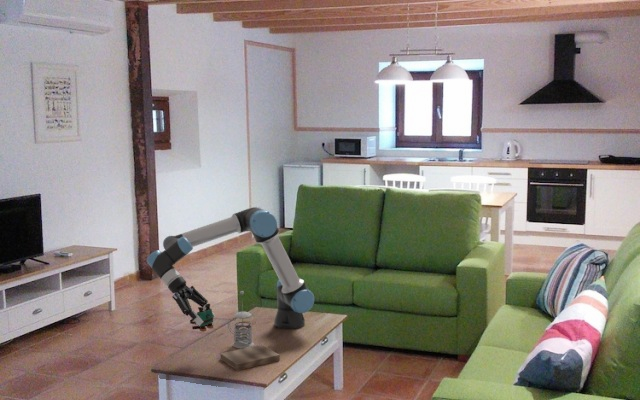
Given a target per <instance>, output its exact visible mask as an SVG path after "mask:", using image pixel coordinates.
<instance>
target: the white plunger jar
mask: <svg viewBox="0 0 640 400" xmlns="http://www.w3.org/2000/svg"><path fill="white" fill-rule="evenodd" d="M239 294H240V295H244V294H245V292H244V290H240V292H239ZM243 305H244V304H243V300H241V311H238V312H236V313H235V314H233V317H232V318H231V319H230V320H228V324H227V326H228V331H229V332H230V333H231V334H233V335H234V336H233V338H234V339H233V340H234V341H233V342H234V343H232V347H234V348H236V349H237V348H238V349H243V348H247V347H251V346H252V347H253V346H255V343H254V342H253V335H252V333H253V332H252V325H251V322H250V321H244V319H249V318H251V317H252V314H251V313H250V312H247V311H244V310H243V308H244V307H243ZM236 319H242V320H243V321H238V322H236V323H234V331H233V330H232V328H231V322H232V320H234V321H236Z"/></svg>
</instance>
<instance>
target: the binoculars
mask: <svg viewBox="0 0 640 400" xmlns="http://www.w3.org/2000/svg"><path fill="white" fill-rule="evenodd" d="M205 307H206V310H204V311H203V307H201V306H198V307H197V308H198V311H197V312H196V313H197V314H198V316H199V317H200V318H201V319H202V320H203V323H202V324H201V325H200V326H198V325H197V323H196V322H195V321H194V320H193V319H192V318H191V319H189V321H190V322H189V323H190V324H193V326H192V327H191V329H192V330H199V331H200V332H207V329H210V330H211V329H214V324H213V323H214V318H213V315H212V312H213V311H212V310H213V309H212V308H211V304H210V303H207V304H206V305H205Z"/></svg>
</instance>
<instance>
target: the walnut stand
mask: <svg viewBox="0 0 640 400" xmlns="http://www.w3.org/2000/svg"><path fill="white" fill-rule="evenodd" d="M219 355H220V357H219V358H220V360H221V361H223V362H224V363H226V364H227V365H228V366H230V367H231V368H233V369H234V370H236V371H241V370H244V369H249V368H253V367H258V366H261V365H267V364H270V363H274V362H275V363H276V362H279V361H280V359H281V358H280V357H281V356H280V354H279V353H277V352H275V351H274V350H272V349H270V348H268V347H267V346H265V345H263V344H258V345H253V346H252V347H248V348H238V349H234V350H230V351H226V352H225V351H224V352H221V353H220V354H219Z"/></svg>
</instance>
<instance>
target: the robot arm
mask: <svg viewBox="0 0 640 400" xmlns="http://www.w3.org/2000/svg"><path fill="white" fill-rule="evenodd" d="M245 232H250V233H251V234H252V236H253V238H254V241H256V243H257V244H259V245H261V246H262V248H263V250H264V252H265V255H266V256H267V258H268V260H269V262H270V263H271V266H272V268H273V270H274V272H275V274H276V276H277V278H278V280H277V282H276V301H277V303H276V304H277V306H276V307H277V311H276V314H275V316H274V317H275V318H274V319H273V320H274V321H273V323H274V324H273V325H274V327H275V328H278V329H285V330H293V329H298V328H302V327H304V326H305V324H306V322H305V321H306V320H305V317H304V314H305V313H307V312H309V311H310V310H311V309H312V308H313V306H314V303H315V296H314V293H313V292H312V291H311V290H310V289H309V288H308V287H307V285H306V282H305V280H304V279H302V278H300V277H299V276H298V274H297V271H296V269H295V267H294V265H293V264H292V262H291V259H290V257H289V255H288V253H287V251H286V250H285V248H284V245H283V243H282V241H281V239H280V237H279V233H280V230H279V228H278V221H277V218H276V216H275V215H274V214H273V213H271V211H269V210H266V209H263V208H259V207H256V206H255V207H250V208H246V209H243V210H241V211H238V212H235V213H232V215H231V216H230V217H227V218H224V219H221V220H218V221H214V222H213V223H209V224H207V225H202V226H200V227H198V228H194V229H191V230H189V231H185V232H182V233H179V234H176V235H168V236H166V237H165V238H164V239H163V240H162V241H163V242H162V246H163V249H164V250H163V251H161V250H159V249H156V250H154V251H153V252H151V254H149V255H148V257H146V262H147V264H148V265H149V266H150V268H151V269H152V271H154V273H155V274H156V275H157V276H158V277H159V279H160V280H161V281H162V282H163V283H164V285H165V286H166V287H167V288H168V290H169V291H170V292H171V293H172V299H173V300H174V301H175V302H176V304H177V305H178V307H179V309H180V310H181V312H182V314H183V315H185V316H187V317H188V316H189V317H190V318H191V319H193V320H194V321H195V322H196V324H197V325H196V326H200V325H201V324H202V323H203V320H202V319H201V318H200V317H199V316H198V314H197V312H196V311H195V310H194V309H193V308H192V306H191V304H190V301H189V300H191V301H193V303H195V304H197V305H198V306H199V307H203V311H204V310H206V307H205V305H206V304H209V300H208V299H206V298H205V296H204V295H202V294H201V293H200V292H199V291H198V290H196V288H195V286H193V285H191V286H190V287H189V286H188V285H187V281H186V280H185V278H184V277H183V276H182V275H181V273H180V272H179V271H178V270H177V269H176V268H175V266H174V265H175V264H177V263H178V262H179V261H180V260H182V259H183V258H184V257H186V256H187V255H189V254H190V253H191V252H192V251H193V250H194V247H197V246H200V245H203V244H205V243H209V242H211V241H214V240H217V239H221V238H223V237H226V236H229V235H233V234H234V233H238V234H241V233H245ZM192 309H193V310H192ZM212 315H213V319H214V318H215V317H216V314H215V313H214V312H213V311H212Z"/></svg>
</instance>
